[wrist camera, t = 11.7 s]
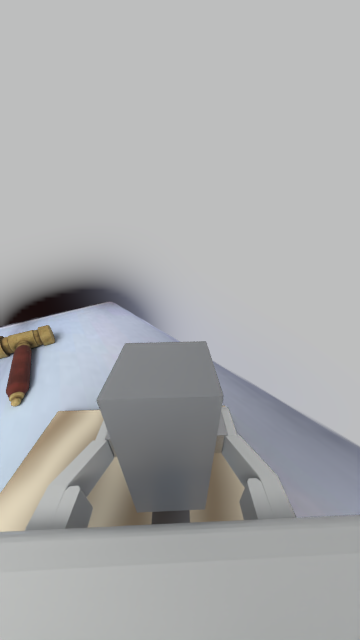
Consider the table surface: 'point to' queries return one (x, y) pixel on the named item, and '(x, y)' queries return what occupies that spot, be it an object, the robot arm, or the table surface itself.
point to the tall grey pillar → (164, 422)
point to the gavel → (22, 359)
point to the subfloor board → (103, 482)
